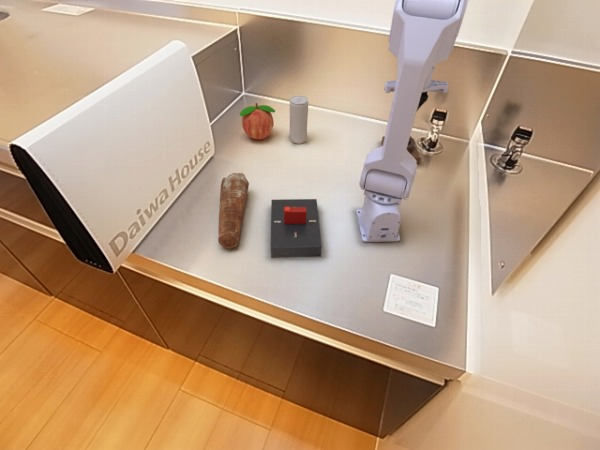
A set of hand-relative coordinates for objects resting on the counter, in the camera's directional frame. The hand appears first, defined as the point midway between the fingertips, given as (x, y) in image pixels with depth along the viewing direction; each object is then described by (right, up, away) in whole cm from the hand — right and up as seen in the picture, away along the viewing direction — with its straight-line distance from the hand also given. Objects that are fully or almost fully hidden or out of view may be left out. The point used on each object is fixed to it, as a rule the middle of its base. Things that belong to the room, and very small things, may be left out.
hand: (408, 119), depth 92 cm
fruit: (-38, -1, +12) cm, 40 cm away
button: (0, -5, +5) cm, 7 cm away
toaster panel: (-28, -28, -13) cm, 42 cm away
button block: (0, -7, +8) cm, 10 cm away
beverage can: (-27, -3, +11) cm, 30 cm away
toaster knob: (-28, -26, -15) cm, 41 cm away
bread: (-41, -25, -10) cm, 49 cm away
